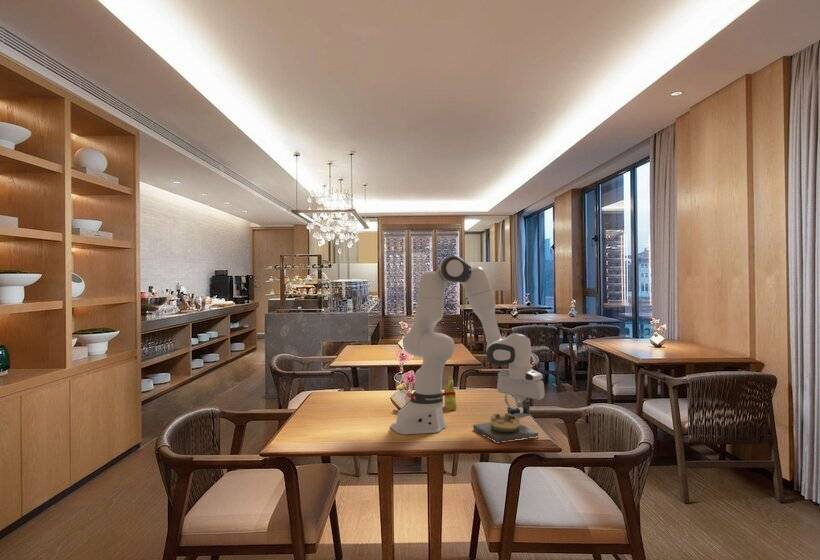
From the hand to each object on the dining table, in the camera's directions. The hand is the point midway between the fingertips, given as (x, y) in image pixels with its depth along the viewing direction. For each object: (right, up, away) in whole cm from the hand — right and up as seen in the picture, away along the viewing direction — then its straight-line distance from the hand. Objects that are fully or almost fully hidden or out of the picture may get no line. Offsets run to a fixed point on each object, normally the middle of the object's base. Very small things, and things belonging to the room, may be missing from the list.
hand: (520, 406), depth 195 cm
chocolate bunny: (-27, -9, +29) cm, 40 cm away
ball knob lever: (-5, -6, -7) cm, 10 cm away
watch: (+1, -8, +16) cm, 18 cm away
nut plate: (-8, -8, -9) cm, 15 cm away
